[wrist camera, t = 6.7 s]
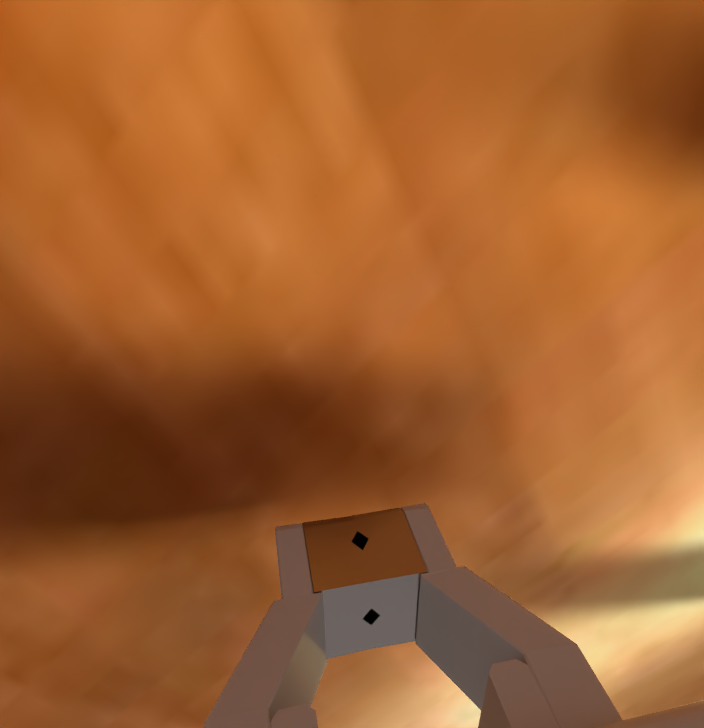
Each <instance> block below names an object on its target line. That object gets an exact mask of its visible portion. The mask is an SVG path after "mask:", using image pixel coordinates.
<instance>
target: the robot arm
mask: <svg viewBox="0 0 704 728" xmlns="http://www.w3.org/2000/svg"><path fill="white" fill-rule="evenodd" d="M275 535H276V545H277V555H278V566H279V576H280V586H281V596H282V599H281V600H276V601H274V602H273V603H272V605H271V607H270V609H269V610H268V612H267V614H266V616H265V617H264V619H263V621H262V623H261V624H260V626H259V628H258V630H257V631H256V633H255V635H254V637H253V638H252V640H251V642H250V644H249V646H248V647H247V649H246V651H245V653H244V654H243V656H242V658H241V660H240V661H239V663H238V665H237V667H236V668H235V670H234V672H233V674H232V675H231V677H230V679H229V681H228V682H227V684H226V686H225V688H224V689H223V691H222V693H221V695H220V696H219V698H218V700H217V702H216V703H215V705H214V707H213V709H212V711H211V712H210V714H209V716H208V718H207V719H206V721H205V724H204V728H318V724H317V717H316V711H315V710H314V709H312V708H310V707H311V704H312V702H313V699H314V696H315V693H316V691H317V688H318V685H319V682H320V680H321V677H322V674H323V672H324V669H325V666H326V663H327V659H329V658H333V657H337V656H342V655H346V654H350V653H354V652H359V651H363V650H367V649H372V648H378V647H384V646H390V645H395V644H401V643H407V642H413V641H416V644H417V645H418V646H419V647H420V648H421V649H422V650H423V651H424V652H425V653H426V654H427V656H428V657H429V658H430V659H431V660H432V661H433V662H434V663H435V664H436V665H437V666H438V667H439V668H440V669H441V670H442V671H443V672H444V673H445V674H446V675H447V676H448V677H449V678H450V679H451V680H452V681H453V682H454V683H455V684H456V685H457V686H458V687H459V688H460V689H461V690H462V691H463V692H464V693H465V694H466V695H467V696H468V697H469V698H470V699H471V700H472V701H473V702H474V703H475V704H476V705H477V707H478V708H479V709H480V710H481V716H480V721H479V726H478V728H704V701H700V702H696V703H692V704H688V705H683V706H679V707H675V708H671V709H667V710H663V711H659V712H655V713H651V714H647V715H643V716H638V717H634V718H630V719H626V720H622V718H621V716H620V715H619V713H618V712H617V710H616V708H615V707H614V705H613V703H612V702H611V700H610V698H609V697H608V695H607V693H606V692H605V690H604V688H603V687H602V685H601V683H600V682H599V680H598V679H597V677H596V675H595V674H594V672H593V670H592V669H591V667H590V665H589V664H588V662H587V660H586V659H585V657H584V655H583V654H582V652H581V650H580V649H579V647H578V645H577V644H576V643H574V642H573V641H571V640H570V639H569V638H567V637H566V636H564V635H563V634H561V633H560V632H558V631H557V630H556V629H554V628H553V627H551V626H550V625H548V624H547V623H545V622H544V621H543V620H541V619H540V618H538V617H537V616H535V615H534V614H532V613H531V612H530V611H528V610H527V609H525V608H524V607H522V606H521V605H519V604H518V603H516V602H515V601H514V600H512V599H511V598H509V597H508V596H506V595H505V594H503V593H502V592H501V591H499V590H498V589H496V588H495V587H493V586H492V585H490V584H489V583H488V582H486V581H485V580H483V579H482V578H480V577H479V576H477V575H476V574H474V573H473V572H472V571H470V570H469V569H467V568H466V567H458V568H457V566H456V564H455V562H454V560H453V558H452V556H451V554H450V551H449V549H448V547H447V545H446V543H445V541H444V539H443V536H442V534H441V532H440V530H439V528H438V526H437V523H436V521H435V519H434V517H433V515H432V513H431V511H430V508H429V506H427V505H426V504H425V503H424V504H418V505H412V506H406V507H401V508H394V509H388V510H382V511H376V512H370V513H364V514H358V515H352V516H348V517H341V518H333V519H326V520H318V521H311V522H303V523H302V524H301V523H300V524H292V525H284V526H277V527H276V530H275Z"/></svg>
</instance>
